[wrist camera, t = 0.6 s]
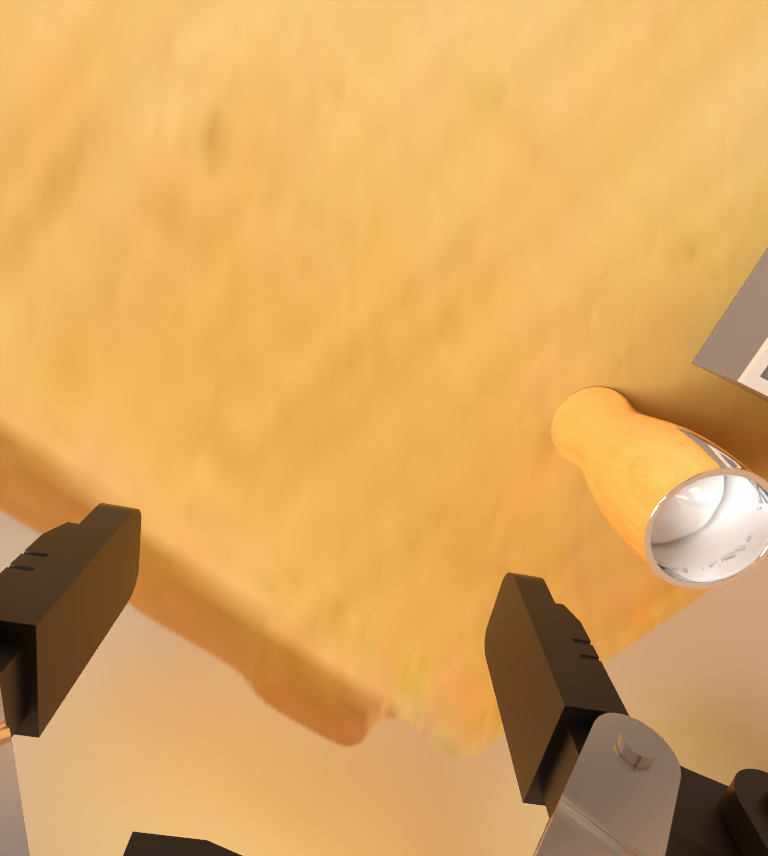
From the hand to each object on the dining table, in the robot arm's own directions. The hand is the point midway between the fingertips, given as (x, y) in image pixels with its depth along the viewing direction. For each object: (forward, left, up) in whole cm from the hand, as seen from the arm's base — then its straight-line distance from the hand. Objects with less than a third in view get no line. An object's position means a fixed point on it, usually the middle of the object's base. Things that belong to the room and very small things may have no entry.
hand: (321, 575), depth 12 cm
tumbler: (-2, +18, -27) cm, 33 cm away
